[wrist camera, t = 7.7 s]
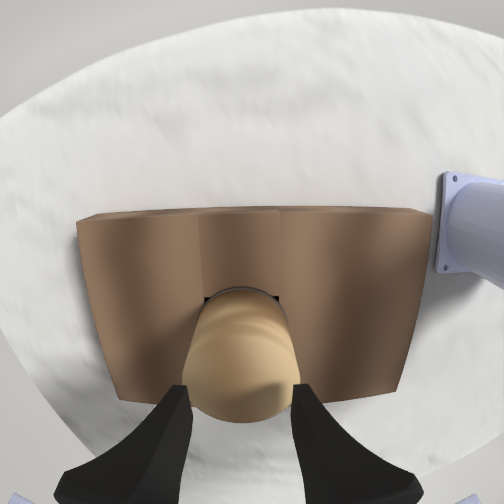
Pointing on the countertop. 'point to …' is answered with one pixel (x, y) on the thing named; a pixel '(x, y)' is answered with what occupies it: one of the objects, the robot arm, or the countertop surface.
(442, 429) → the countertop surface
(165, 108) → the countertop surface
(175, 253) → the walnut board
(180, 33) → the countertop surface
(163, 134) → the countertop surface
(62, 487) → the robot arm
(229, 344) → the oak peg
